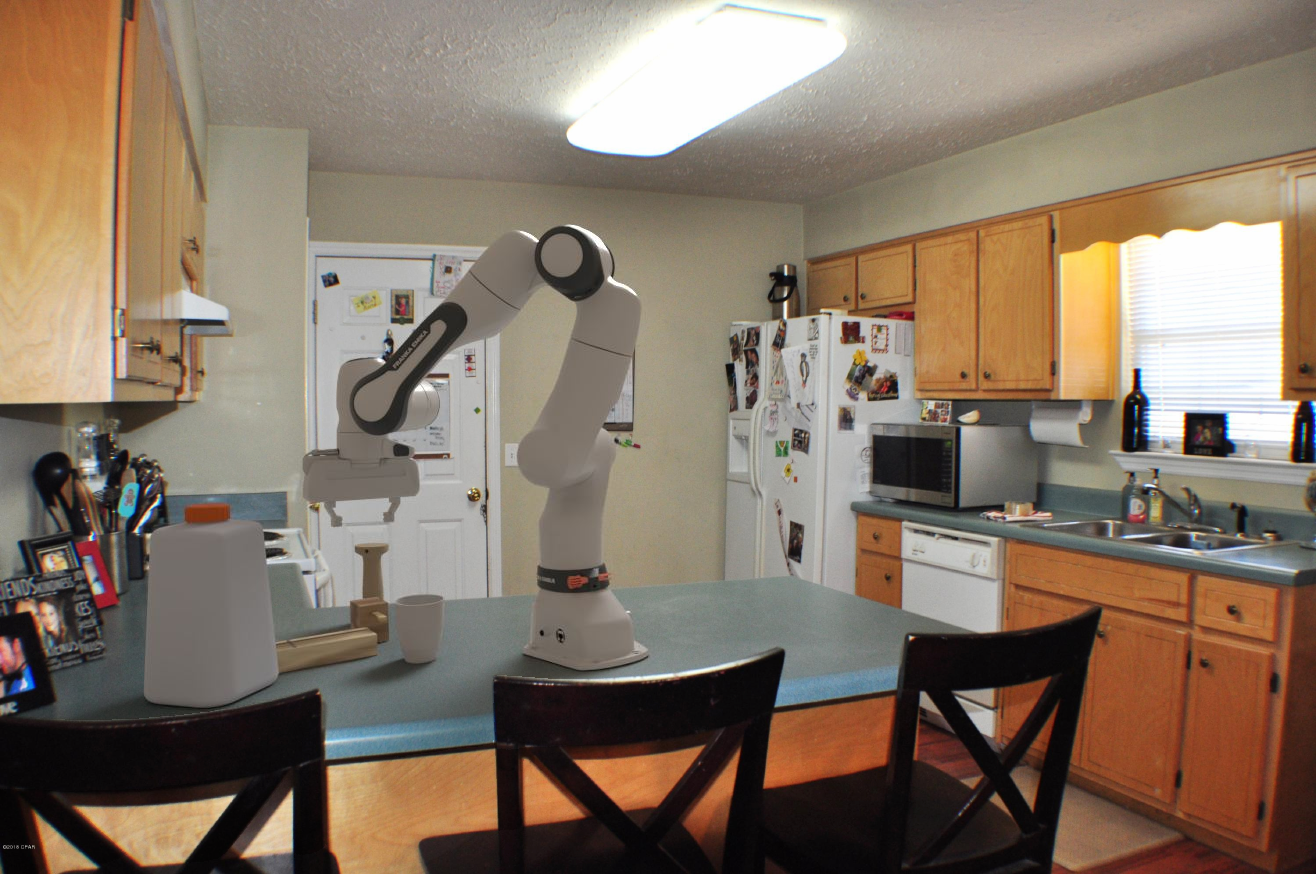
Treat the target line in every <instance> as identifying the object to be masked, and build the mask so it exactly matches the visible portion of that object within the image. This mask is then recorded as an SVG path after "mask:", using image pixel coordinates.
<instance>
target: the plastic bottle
mask: <svg viewBox="0 0 1316 874" xmlns="http://www.w3.org/2000/svg"><path fill="white" fill-rule="evenodd" d="M183 514H184V522H181V523H175V524H171V525H168V526H167V525H166V526H163V527H159V528H157V529H155V530H153V532H152V533H151V534H150V536H149V553H148V554H149V558H148V577H147V579H148V581H147V605H146V608H147V609H146V629H145V654H144V655H145V656H144V679H143V680H144V681H143V695H144V697H145V700H147V701H148V702H150V703H152V704H157V705H165V706H175V707H177V706H178V707H185V708H186V707H188V708H197V709H198V708H200V709H209V708H215V707H216V708H217V707H222V706H225V705H229V704H231V703H234V702H236V701H239V700H241V699H243V698H245V697H247V696H249V695H251V694H253V693H256V692H258V691H260V690H262V689H265V688H267V687H269V686H270V685H272V684H273V683H274V682H275V681H276V680H277V679H278V677H279V674H280V673H279V670H278V661H277V652H276V643H275V642H276V636H275V628H274V627H275V626H274V617H273V607H272V598H271V591H270V590H271V589H270V580H269V571H268V562H267V553H266V545H265V544H266V543H265V533H264V527H263V525H262V524H261V523H260V522H259V521H254V520H245V519H244V520H243V519H231V506H230V505H229V504H228V503H226V502H225V503H224V502H222V503H221V502H212V503H211V502H210V503H208V502H207V503H196V504H191V505H187V506H186V507H185V508H184V513H183Z"/></svg>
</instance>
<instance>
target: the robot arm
mask: <svg viewBox="0 0 1316 874" xmlns="http://www.w3.org/2000/svg"><path fill="white" fill-rule="evenodd" d="M615 269H616V266H615V259H614V256H613V253H612V252H611V249H610V248H609V247H608V246H607V245H606V243H604V242H603V241H602V239H601V238H600V237H598V236H597V235H596V234H595V233H593V232H591V231H589V230H587V229H585V228H582V227H581V226H579V225H574V224H561V225H557V226H554V227H551V228H550V229H548V230H547V231H546V232H544V233H543V234H542V235H541V236H540V238H539V239H537V238H536V237H535V236H533V235H532V234H530V233H528V232H525V231H523V230H518V229H512V230H508V231H506V232H504V233H502V234H501V235H500V236H499V237H498V238H497V239H496V240H495V241H493V242H492V244H490V245H489V246H488V247H487V248H486V250H484V251H483V252H482V254H480V255H479V257H478V258H477V259H476V260H475V261H474V262H473V264H472V265H471V267H470V268H469V269H468V271H467V272H466V273H465V274H464V275H463V276H462V278H461V279H460V280H459V281H458V283H457V284H456V285H455V286H454V287H453V289H452V290H451V292H450V293H449V294H448V295H447V297H446V298H444V299H443V301H442V302H441V303H439V305H438V306H436V308H435V309H433V311H432V312H431V313H430V314H429V315H427V317H426V318H425V319H423V321H422V322H421V323H419V325H418V326H417V327H416V328H415V329H414V330H413V332H411V334H410V335H409V336H408V337H407V339H405V340H404V342H403V343H402V344H401V345H400V346H399V348H397V350H395V352H394V353H393V354H392V355H391V356H390V357H389V359H388V360H387V361H385V360H384V359H383V358H381V357H378V356H377V357H375V356H372V357H371V356H367V357H360V358H353V359H350V360H347V361H346V362H344V363H342V364H341V366H340V368H339V370H338V375H337V379H336V392H335V393H336V395H335V397H336V398H335V399H336V401H335V404H336V411H337V415H338V423H337V426H336V427H337V428H336V448H328V449H327V448H326V449H319V448H318V449H316V448H315V449H310V451H309V452H307V453H306V454H305V455H303V458H302V471H303V473H304V477H303V484H302V498H304V500H305V501H306V502H307V503H311V504H317V503H318V504H319V503H323V507H324V509H325V510H326V512H327V514H328V516H330V526H331V527H333V528H339V527H342V526H343V516H341V515H337V513H336V512H335V510H334V509H335V508H336V507H337V502H344V501H345V502H348V501H362V500H363V501H364V500H377V499H378V500H379V499H388V503H391V504H390V506H389V508H388V510H387V511H384V512H382V513H383V514H382V516H383V518H382V520H383V523H386V524H387V523H394V522H395V514H396V512H397V510H398V508H399V507H400V505H401V498H407V497H408V498H409V497H410V498H411V497H417V495H418V494H419V491H420V490H421V485H420V483H421V482H420V481H421V480H420V471H419V466H418V463H417V461H416V460H415V459H414V458H413V457H414V456H415V454H416V449H415V447H414V446H413V445H410V444H408V443H405V442H400V441H399V440H396V439H390V438H389V434H392V433H399V432H408V431H409V432H410V431H417V430H421V429H423V428H426V427H428V426H430V425H431V424H433V422H434V421H435V420H436V419H437V417H438V415H439V412H440V408H441V407H440V406H441V401H440V397H439V393H438V391H437V388H435V386H434V385H433V384H432V383H431V382H429V381H428V380H426V378H427V377H428V376H429V374H430V373H431V372H432V371H433V370H434V369H435V367H436V366H437V365H438V364H439V363H440V362H441V361H442V360H443V358H445V357H446V356H447V355H449V354H450V353H452V352H453V351H455V350H457V349H458V348H461V347H462V346H465V345H468V344H472V343H475V342H479V341H484V340H487V339H490V338H494V337H495V336H497V335H498V334H500V333H501V332H502V331H504V329H505V328H507V327H508V326H509V325H510V324H511V323H512V322H513V320H514V319H515V318H517V316H518V315H519V314H520V312H521V311H522V309H523V308H524V307H525V305H526V304H527V303H528V302H529V300H530V299H531V298H532V297H533V295H534V294H535V293H536V292H538V291H539V290H541V289H542V288H544V287H551V288H552V289H554V290H555V291H557V292H558V293H560V294H561V295H562V296H564V297H565V298H567V299H568V300H569V301H571V302H574V303H575V305H576V314H575V320H574V323H573V324H574V325H573V328H572V331H571V334H570V337H569V341H568V344H567V348H566V351H565V354H564V357H563V361H562V364H561V367H560V370H559V373H558V377H557V380H556V382H555V384H554V386H553V389H552V391H551V393H550V394H549V397H548V399H547V400H546V402H545V404H544V406H543V409H542V410H541V411H540V414H539V415H538V417H537V420H536V421H535V423H534V424H533V426H532V428H531V429H530V430H529V431H528V432H527V434H526V435H525V436H524V437H523V438H522V440H521V441H520V443H519V445H518V447H517V451H516V462H517V466H518V469H519V471H520V473H521V475H522V476H523V477H524V478H525V479H526V480H527V481H528V482H529V483H531V484H533V485H535V486H537V487H543V488H547V489H548V494H547V497H546V503H545V505H544V509H543V511H542V512H541V515H540V517H539V520H538V521H539V522H538V547H539V549H538V551H539V552H538V553H539V564H538V565H537V567H536V568H537V571H536V580H537V583H536V584H537V585H536V586H537V587H538V589H539V590H538V592H537V595H536V597H535V599H534V600H533V601H532V603H531V609H530V611H531V612H530V625H529V628H530V630H529V643H527V644H526V645H525V646H523V654H524V655H526V656H530V657H533V658H536V659H540V660H543V661H547V662H551V663H553V664H557V665H560V666H563V667H565V668H566V667H567V668H570V669H573V670H577V671H589V670H590V671H591V670H592V671H593V670H601V669H608V668H614V667H618V666H622V665H623V666H624V665H626V664H630V663H634V662H637V661H640V660H643V659H645V658H647V657H648V656H649V655H650V653H649V649H648V648H647V647H645V646H644V645H643V644H641V643H639V642H638V641H636V640H635V636H634V635H635V634H634V633H635V632H634V625H633V615H632V612H631V611H630V610H625V608H624V607H623V605H622V604H621V603H620V601H619V600H618V598H617V597H616V596H615V594H614V593H613V591H612V590H611V588H610V584H611V583H610V580H611V579H612V577H609V576H610V575H612V573H611V572H608V570H607V566H606V563H605V562H604V557H603V556H604V554H603V553H604V546H603V545H604V544H603V543H604V542H603V541H604V539H603V538H604V537H603V533H604V532H603V526H604V525H603V524H604V523H603V522H604V521H603V520H604V512H605V505H606V504H605V503H606V498H607V493H608V488H609V482H610V481H609V480H610V474H611V469H612V467H613V464H614V463H615V460H616V457H617V456H616V455H617V445H616V442H615V440H614V438H613V435H611V433H610V432H609V431H607V430H606V429H605V428H604V427H603V426H604V424H605V422H606V421H607V419H608V417H609V415H610V413H611V411H612V410H613V408H614V407H615V406H616V405H617V404H618V402H619V400H620V398H621V394H622V392H623V389H624V385H625V381H626V378H627V375H628V372H629V368H630V366H631V361H632V358H633V355H634V351H635V348H636V345H637V344H636V343H637V340H638V335H639V330H640V324H641V316H642V315H641V314H642V302H641V299H640V297H639V295H638V294H637V293H636V292H635V291H634V290H633V289H632V288H630V287H629V286H627V285H625V284H623V283H621V282H620V283H619V282H617V281H615V280H614V275H615Z"/></svg>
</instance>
